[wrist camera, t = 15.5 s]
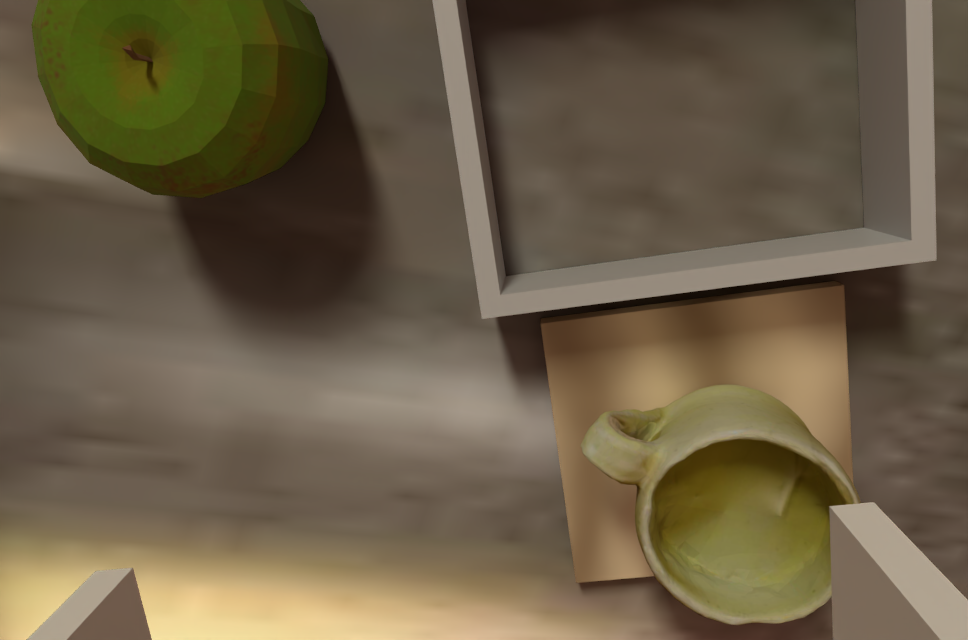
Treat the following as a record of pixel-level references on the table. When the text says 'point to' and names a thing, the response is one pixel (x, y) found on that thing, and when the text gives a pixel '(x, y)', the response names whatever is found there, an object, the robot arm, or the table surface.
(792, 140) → the table surface
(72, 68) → the apple
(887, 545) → the robot arm
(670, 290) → the tub
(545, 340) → the board
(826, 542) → the mug
